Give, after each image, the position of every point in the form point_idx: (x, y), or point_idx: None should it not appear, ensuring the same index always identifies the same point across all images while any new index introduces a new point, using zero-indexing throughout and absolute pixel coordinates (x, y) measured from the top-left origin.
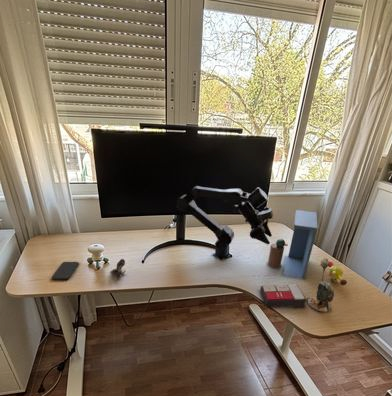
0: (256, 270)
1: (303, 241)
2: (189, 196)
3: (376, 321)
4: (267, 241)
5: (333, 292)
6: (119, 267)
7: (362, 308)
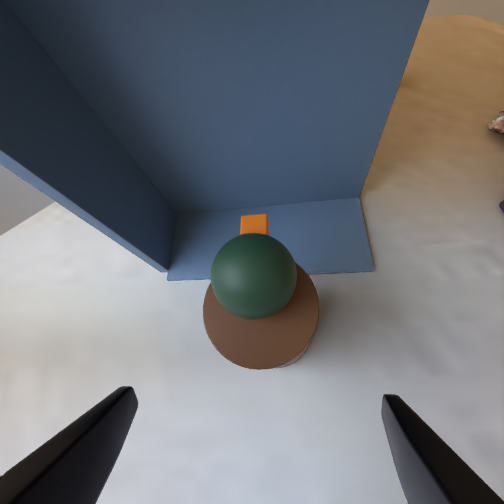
0: None
1: (122, 165)
2: None
3: (489, 24)
4: (437, 448)
5: None
6: None
7: (441, 50)
